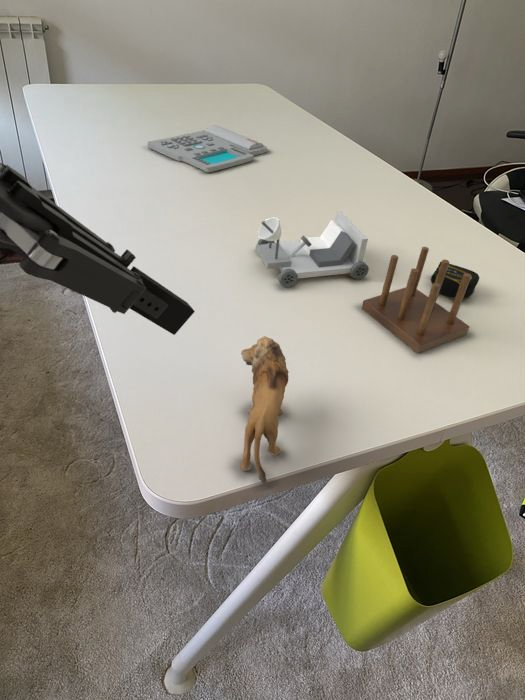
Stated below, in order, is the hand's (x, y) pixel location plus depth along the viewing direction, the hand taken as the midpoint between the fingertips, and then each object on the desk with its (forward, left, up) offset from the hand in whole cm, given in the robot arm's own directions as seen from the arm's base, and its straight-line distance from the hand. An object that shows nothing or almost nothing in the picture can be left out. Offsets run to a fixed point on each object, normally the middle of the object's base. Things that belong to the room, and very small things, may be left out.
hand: (180, 318), depth 47 cm
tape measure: (+11, -53, -18) cm, 57 cm away
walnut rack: (+7, -41, -18) cm, 45 cm away
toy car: (+27, -35, -18) cm, 48 cm away
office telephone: (+80, -46, -18) cm, 94 cm away
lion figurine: (-1, -9, -18) cm, 20 cm away
